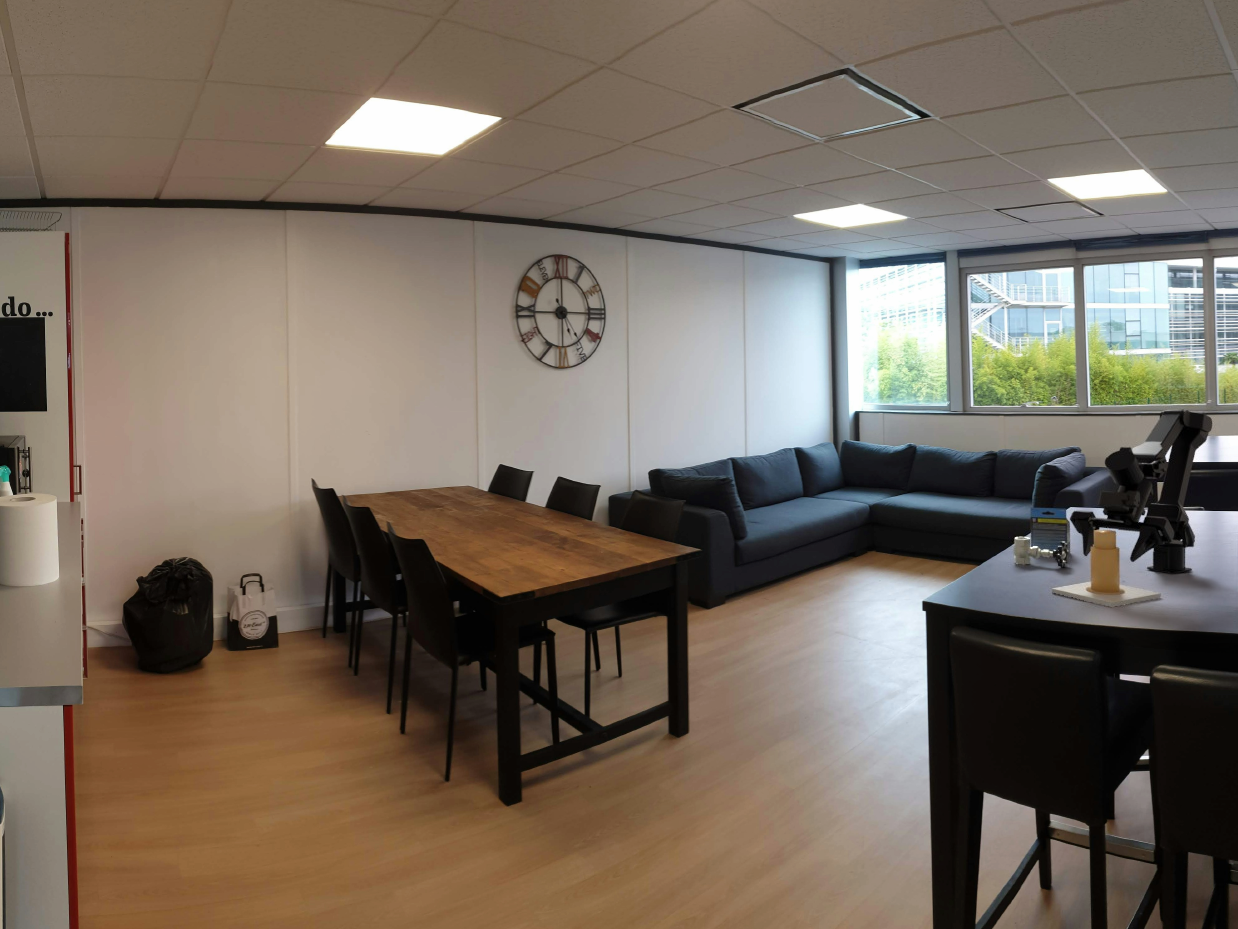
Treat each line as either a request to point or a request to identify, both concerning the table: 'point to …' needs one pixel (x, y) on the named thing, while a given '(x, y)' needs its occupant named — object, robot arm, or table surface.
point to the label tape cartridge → (1049, 528)
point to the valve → (1038, 552)
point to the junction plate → (1106, 594)
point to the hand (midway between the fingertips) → (1107, 557)
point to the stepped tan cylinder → (1105, 562)
